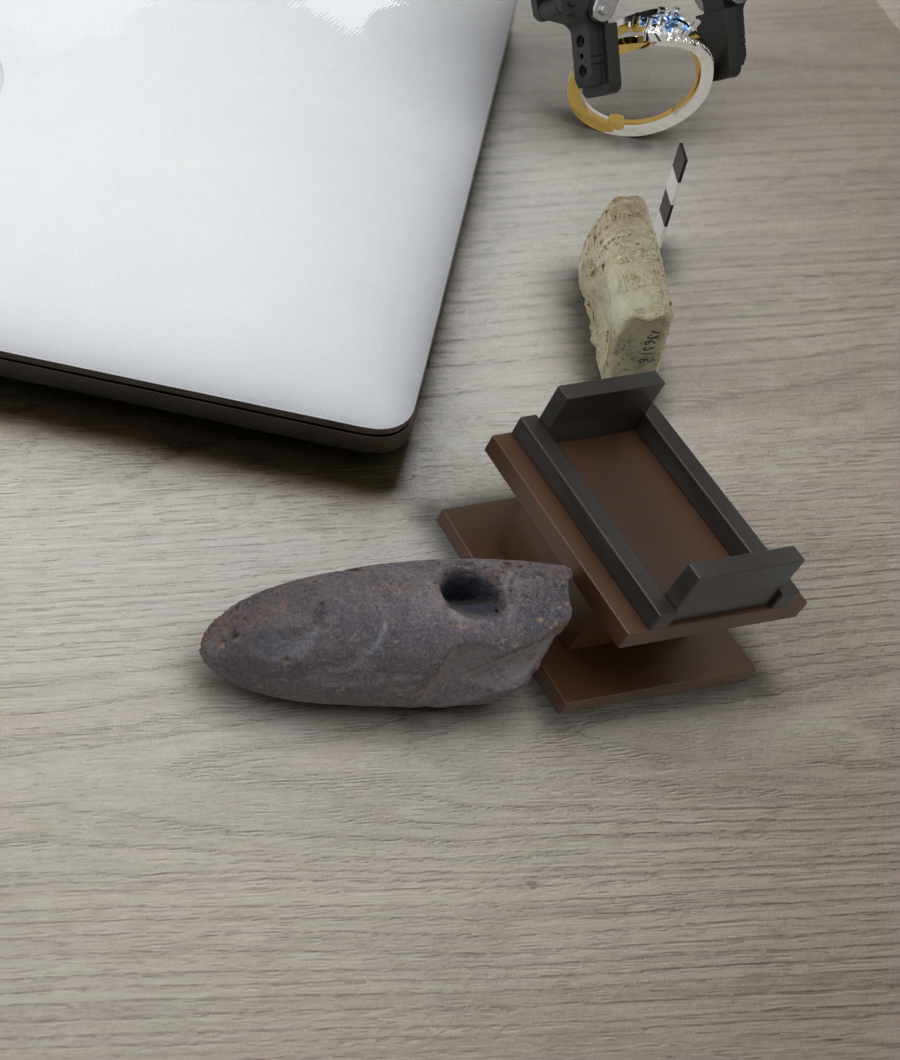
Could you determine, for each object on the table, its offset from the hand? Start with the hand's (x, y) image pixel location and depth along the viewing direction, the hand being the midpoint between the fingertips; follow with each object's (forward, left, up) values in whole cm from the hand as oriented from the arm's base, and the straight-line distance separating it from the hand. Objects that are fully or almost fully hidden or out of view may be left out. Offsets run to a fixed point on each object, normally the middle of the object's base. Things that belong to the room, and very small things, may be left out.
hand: (662, 86), depth 93 cm
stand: (+19, +28, -4) cm, 34 cm away
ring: (0, -2, -5) cm, 5 cm away
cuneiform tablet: (+8, +12, -5) cm, 15 cm away
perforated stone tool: (+31, +30, -5) cm, 44 cm away
